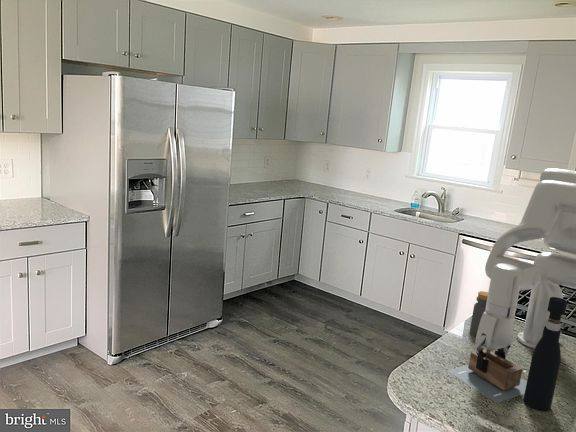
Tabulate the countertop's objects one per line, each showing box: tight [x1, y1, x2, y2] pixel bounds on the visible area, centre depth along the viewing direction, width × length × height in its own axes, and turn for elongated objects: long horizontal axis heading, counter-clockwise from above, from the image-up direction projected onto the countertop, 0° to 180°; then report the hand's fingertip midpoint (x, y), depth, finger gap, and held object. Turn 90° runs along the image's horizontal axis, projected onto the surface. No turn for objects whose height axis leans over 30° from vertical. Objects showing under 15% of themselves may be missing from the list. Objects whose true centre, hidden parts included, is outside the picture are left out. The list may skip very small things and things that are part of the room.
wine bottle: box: [523, 297, 568, 412], centre depth 125 cm, size 6×6×30 cm
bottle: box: [469, 290, 489, 338], centre depth 169 cm, size 6×6×15 cm
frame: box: [468, 349, 524, 390], centre depth 138 cm, size 6×12×5 cm, turn 29°
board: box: [446, 364, 527, 404], centre depth 139 cm, size 18×17×4 cm
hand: (489, 367), depth 140 cm, fingers closed on frame, 6 cm apart
